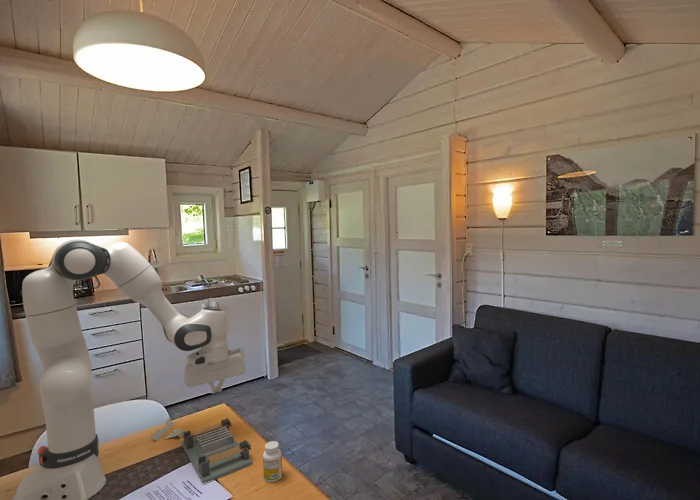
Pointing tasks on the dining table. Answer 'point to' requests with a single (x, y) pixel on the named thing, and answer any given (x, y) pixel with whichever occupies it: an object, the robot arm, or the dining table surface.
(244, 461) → the board
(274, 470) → the supplement bottle
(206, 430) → the strap far
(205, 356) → the robot arm
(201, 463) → the clip frame
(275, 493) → the dining table surface
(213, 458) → the strap near
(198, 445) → the heatsink
